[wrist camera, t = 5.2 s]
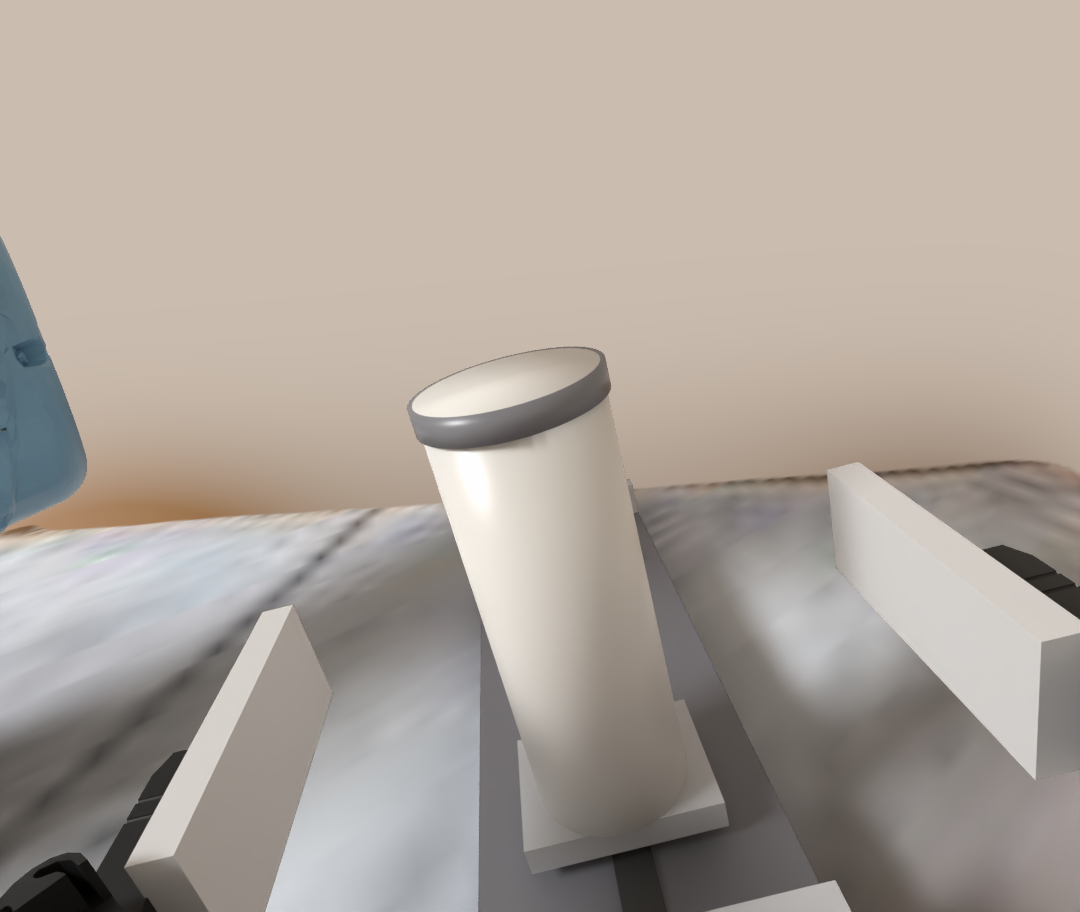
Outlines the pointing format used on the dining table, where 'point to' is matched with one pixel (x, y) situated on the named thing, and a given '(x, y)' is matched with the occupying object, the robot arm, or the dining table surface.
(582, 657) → the fader knob
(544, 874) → the fader console
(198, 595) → the dining table surface
